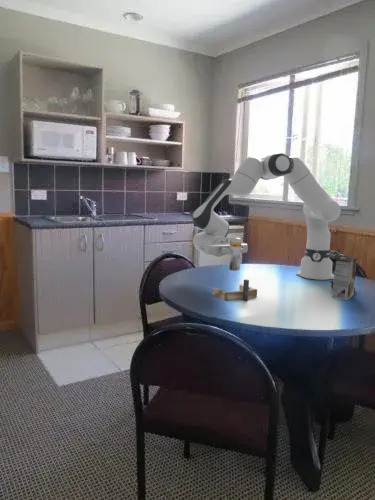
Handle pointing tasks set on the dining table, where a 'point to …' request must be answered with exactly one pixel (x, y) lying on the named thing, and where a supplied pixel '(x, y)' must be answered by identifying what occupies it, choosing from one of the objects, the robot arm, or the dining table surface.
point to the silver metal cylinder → (235, 254)
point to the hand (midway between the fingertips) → (236, 251)
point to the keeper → (236, 293)
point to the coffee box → (344, 277)
